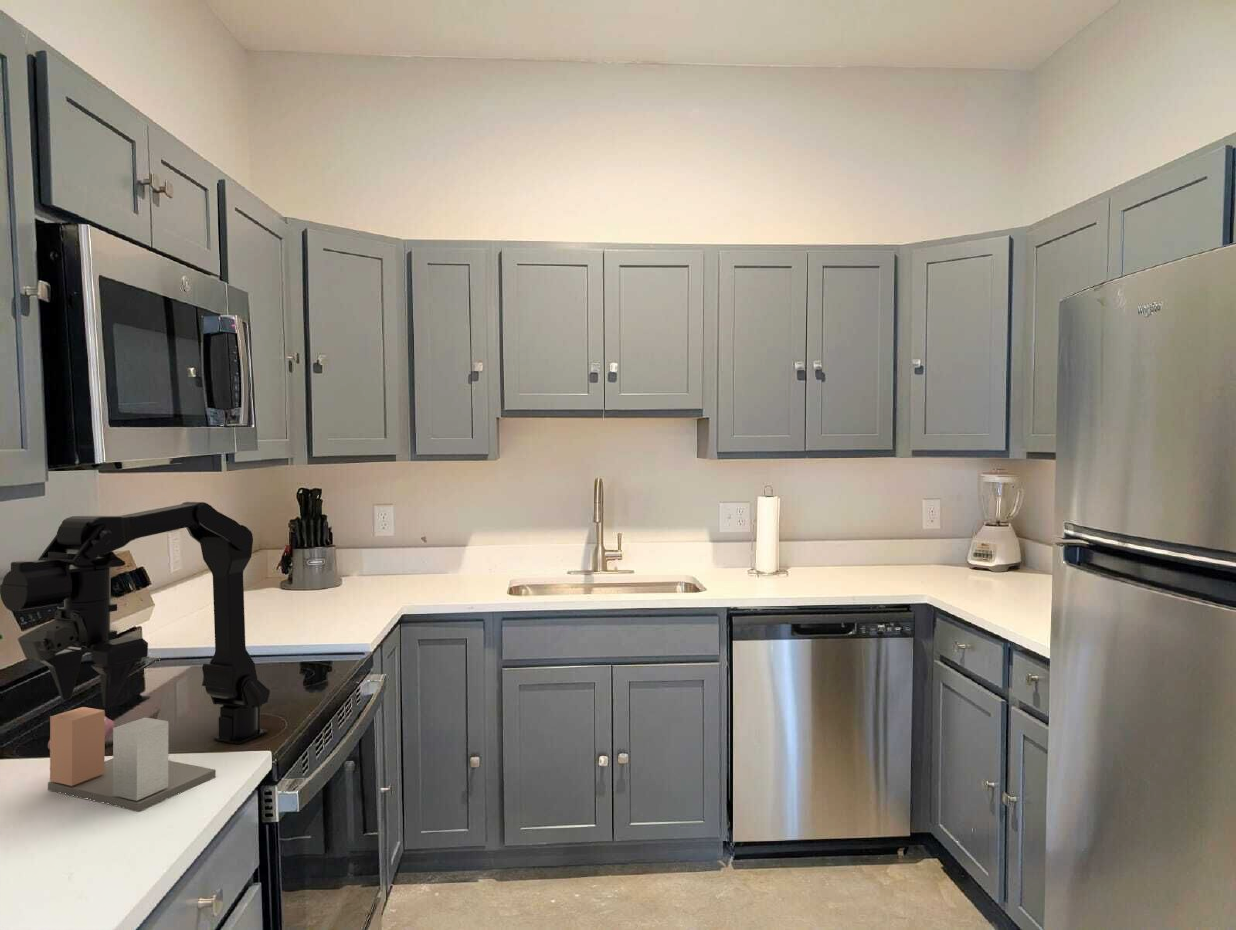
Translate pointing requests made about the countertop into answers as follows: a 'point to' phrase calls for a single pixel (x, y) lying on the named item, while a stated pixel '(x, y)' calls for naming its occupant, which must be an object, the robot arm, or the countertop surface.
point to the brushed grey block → (140, 758)
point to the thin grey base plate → (178, 781)
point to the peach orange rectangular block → (77, 745)
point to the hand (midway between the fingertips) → (86, 702)
